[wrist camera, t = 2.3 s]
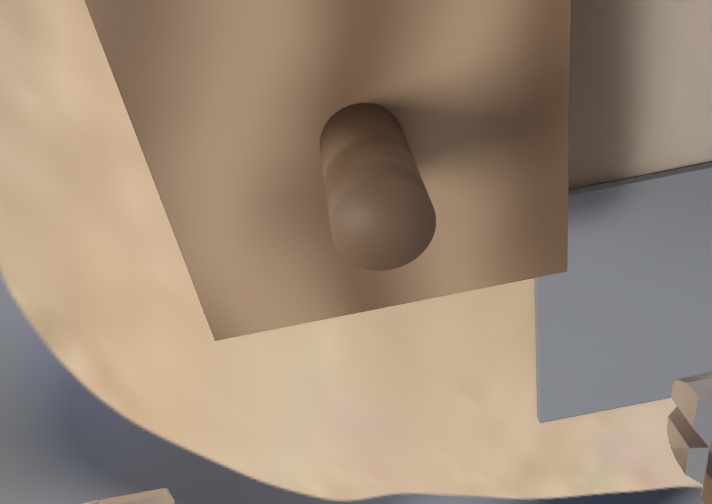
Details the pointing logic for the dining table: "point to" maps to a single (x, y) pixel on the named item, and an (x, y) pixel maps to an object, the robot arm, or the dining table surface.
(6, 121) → the dining table surface
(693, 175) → the mat
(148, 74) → the lid
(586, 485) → the dining table surface
